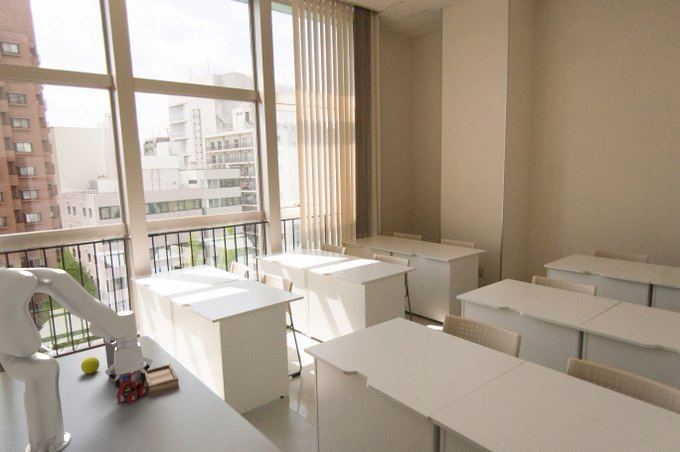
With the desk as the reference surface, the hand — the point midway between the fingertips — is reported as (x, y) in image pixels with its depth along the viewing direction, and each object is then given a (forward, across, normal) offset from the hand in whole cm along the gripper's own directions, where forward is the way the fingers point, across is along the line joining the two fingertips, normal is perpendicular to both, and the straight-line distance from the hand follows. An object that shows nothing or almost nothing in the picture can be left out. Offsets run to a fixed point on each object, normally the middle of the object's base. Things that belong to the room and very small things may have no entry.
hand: (131, 385), depth 166 cm
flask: (+6, -3, +20) cm, 21 cm away
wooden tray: (+5, +12, +5) cm, 14 cm away
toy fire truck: (+6, 0, 0) cm, 6 cm away
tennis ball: (+6, -13, +36) cm, 39 cm away
